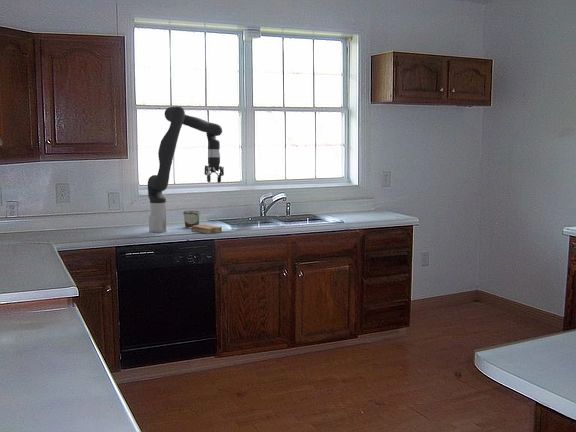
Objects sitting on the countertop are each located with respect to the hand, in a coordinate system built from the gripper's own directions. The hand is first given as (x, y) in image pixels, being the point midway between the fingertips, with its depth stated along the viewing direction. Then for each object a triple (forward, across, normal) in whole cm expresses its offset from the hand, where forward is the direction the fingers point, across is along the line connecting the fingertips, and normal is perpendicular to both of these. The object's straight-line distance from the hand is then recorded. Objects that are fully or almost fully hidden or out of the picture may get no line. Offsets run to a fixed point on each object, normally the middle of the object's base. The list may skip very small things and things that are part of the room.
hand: (214, 182), depth 399 cm
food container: (+28, -2, -16) cm, 32 cm away
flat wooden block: (+28, +16, -24) cm, 40 cm away
